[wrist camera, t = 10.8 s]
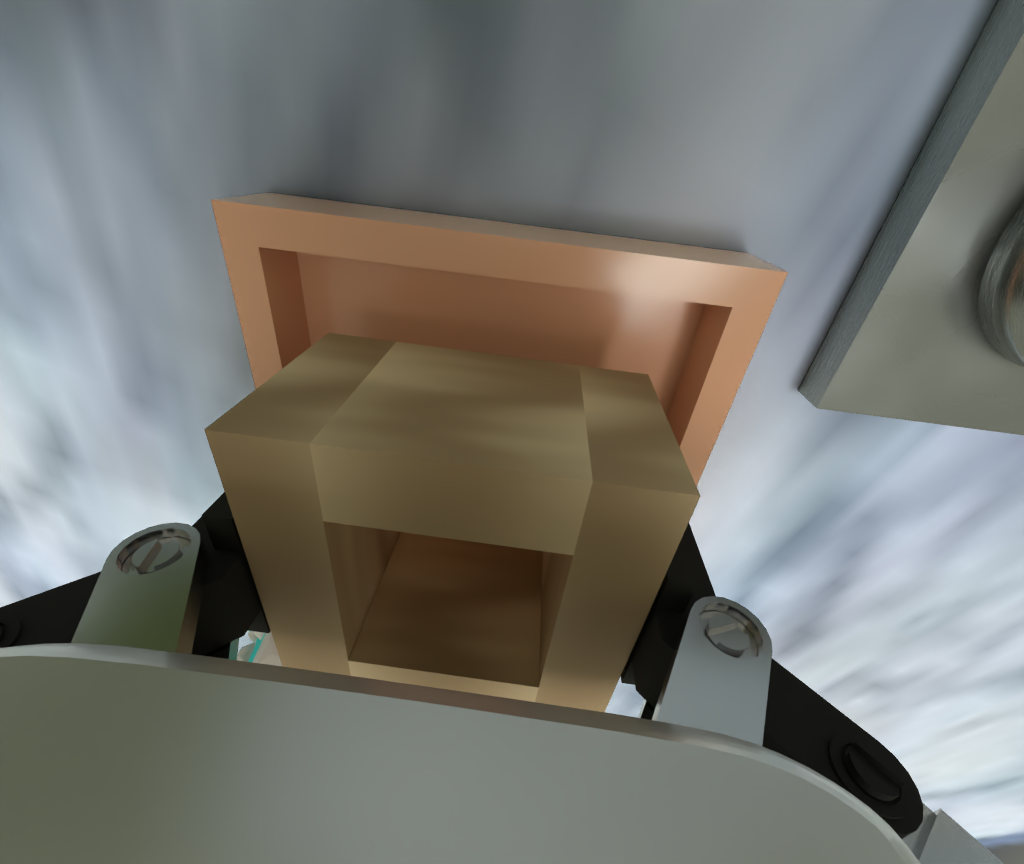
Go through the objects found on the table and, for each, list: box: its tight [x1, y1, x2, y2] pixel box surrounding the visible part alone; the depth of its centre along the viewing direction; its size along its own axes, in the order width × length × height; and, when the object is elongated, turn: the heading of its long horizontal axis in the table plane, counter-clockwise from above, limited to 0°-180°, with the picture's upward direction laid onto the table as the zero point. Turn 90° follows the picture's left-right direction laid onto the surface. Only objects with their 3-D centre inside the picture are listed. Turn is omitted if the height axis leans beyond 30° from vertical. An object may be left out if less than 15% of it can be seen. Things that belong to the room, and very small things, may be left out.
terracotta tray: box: [211, 193, 788, 486], centre depth 13 cm, size 12×12×2 cm
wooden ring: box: [204, 333, 700, 712], centre depth 10 cm, size 7×7×4 cm
